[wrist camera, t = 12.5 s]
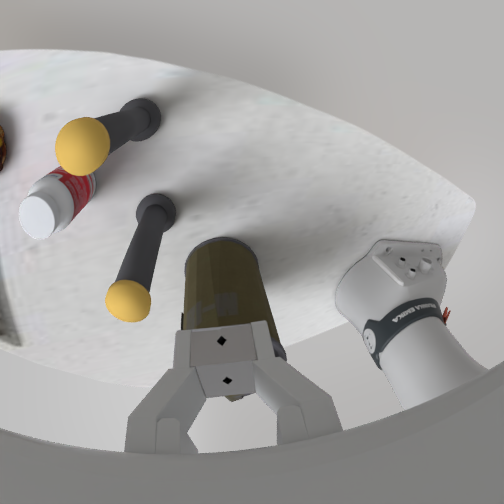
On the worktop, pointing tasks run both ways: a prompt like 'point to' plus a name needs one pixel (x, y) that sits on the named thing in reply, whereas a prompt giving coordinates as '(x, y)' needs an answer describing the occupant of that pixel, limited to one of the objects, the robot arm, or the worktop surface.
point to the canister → (226, 290)
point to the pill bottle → (55, 202)
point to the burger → (2, 148)
